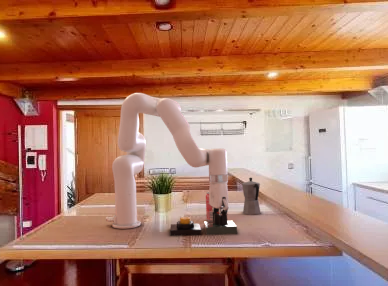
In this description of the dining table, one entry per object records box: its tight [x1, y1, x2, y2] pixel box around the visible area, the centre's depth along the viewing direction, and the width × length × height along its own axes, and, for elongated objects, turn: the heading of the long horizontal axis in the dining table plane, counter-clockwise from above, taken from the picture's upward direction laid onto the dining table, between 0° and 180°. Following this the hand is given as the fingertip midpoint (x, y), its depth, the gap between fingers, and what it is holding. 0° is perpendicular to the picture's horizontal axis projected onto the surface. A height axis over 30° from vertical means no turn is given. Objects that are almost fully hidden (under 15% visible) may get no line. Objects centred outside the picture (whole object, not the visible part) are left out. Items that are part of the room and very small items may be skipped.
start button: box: [179, 216, 191, 224], centre depth 130 cm, size 4×4×2 cm
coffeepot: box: [241, 177, 261, 216], centre depth 162 cm, size 15×9×18 cm, turn 9°
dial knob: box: [214, 212, 220, 225], centre depth 130 cm, size 4×4×4 cm
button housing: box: [169, 220, 202, 237], centre depth 130 cm, size 12×10×4 cm
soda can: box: [205, 191, 223, 221], centre depth 149 cm, size 7×7×13 cm
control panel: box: [203, 220, 238, 236], centre depth 130 cm, size 12×10×3 cm
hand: (219, 222), depth 130 cm, fingers open, 6 cm apart
